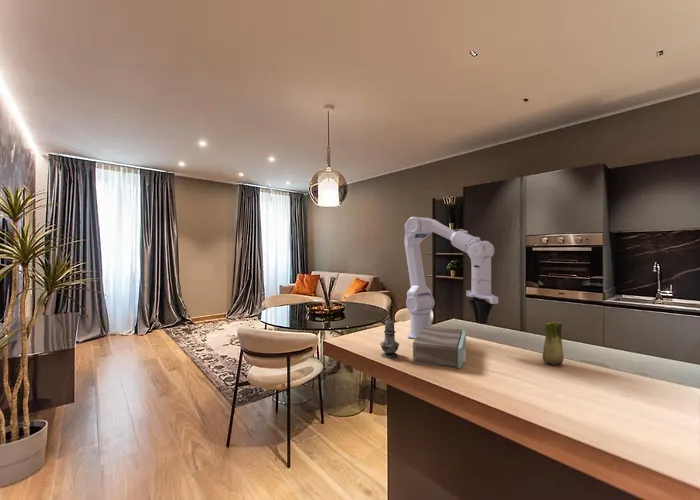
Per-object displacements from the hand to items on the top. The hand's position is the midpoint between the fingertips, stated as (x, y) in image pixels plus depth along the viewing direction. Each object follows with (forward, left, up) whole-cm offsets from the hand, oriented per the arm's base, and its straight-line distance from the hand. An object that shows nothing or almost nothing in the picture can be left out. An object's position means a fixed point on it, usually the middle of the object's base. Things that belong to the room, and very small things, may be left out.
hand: (481, 322), depth 102 cm
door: (+7, -5, -9) cm, 12 cm away
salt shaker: (+13, -26, -10) cm, 31 cm away
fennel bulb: (+3, +19, -10) cm, 21 cm away
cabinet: (+7, -12, -9) cm, 17 cm away
